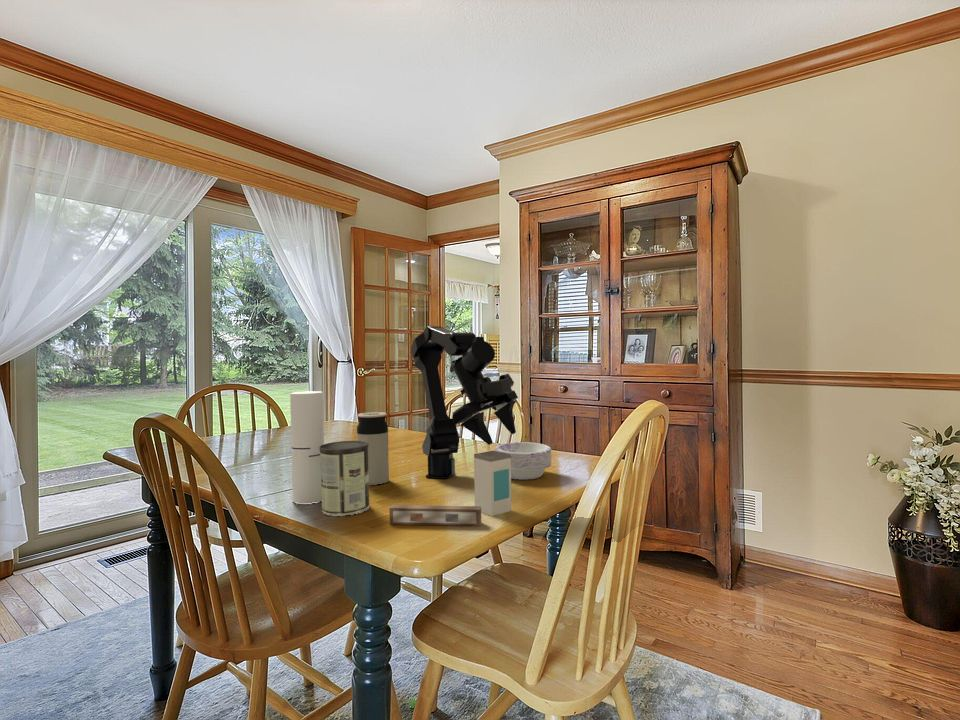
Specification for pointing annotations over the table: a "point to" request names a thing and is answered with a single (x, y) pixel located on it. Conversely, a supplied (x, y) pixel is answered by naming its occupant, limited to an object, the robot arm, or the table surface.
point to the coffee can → (344, 477)
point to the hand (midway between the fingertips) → (502, 438)
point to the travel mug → (375, 445)
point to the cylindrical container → (306, 445)
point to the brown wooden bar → (435, 515)
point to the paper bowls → (527, 459)
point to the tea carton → (493, 482)
